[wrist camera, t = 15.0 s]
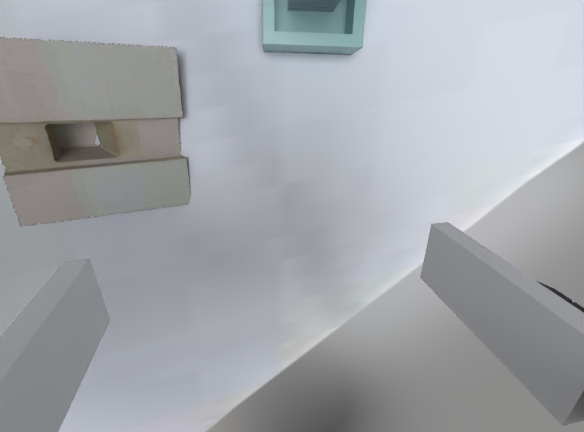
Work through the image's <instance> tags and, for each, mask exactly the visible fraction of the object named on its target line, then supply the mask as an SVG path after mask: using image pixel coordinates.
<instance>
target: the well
mask: <svg viewBox="0 0 584 432" xmlns="http://www.w3.org/2000/svg"><path fill="white" fill-rule="evenodd" d="M287 3H288V0H263V49H264V52H288V53H316V54H344V55H352V54H353V53H355V52H356V51H358V50H359V49H361V48H362V45H363V33H364V22H365V10H366V0H341V1H340V2H339V4H338V5H337V7H336V8H335V10H334V11H333V12H316V11H294V10H287Z"/></svg>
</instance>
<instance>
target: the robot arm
mask: <svg viewBox="0 0 584 432" xmlns="http://www.w3.org/2000/svg"><path fill="white" fill-rule="evenodd" d="M421 279H422V280H423V281H424V282H425V283H426V284H427V285H428V286H429V287H430V288H431V289H432V290H433V291H434V292H435V293H436V295H437V296H438V297H439V298H440V299H441V300H442V301H443V302H444V303H445V304H446V305H447V306H448V307H449V308H450V309H451V310H452V311H453V312H454V313H455V314H456V315H457V316H458V317H459V318H460V320H461V321H462V322H463V323H464V324H465V325H466V326H467V327H468V328H469V329H470V330H471V331H472V332H473V333H474V334H475V335H476V336H477V337H478V338H479V339H480V340H481V341H482V342H483V344H485V346H486V347H487V348H488V349H489V350H490V351H491V352H492V353H493V354H494V355H495V356H496V357H497V358H498V359H499V360H500V361H501V362H502V363H503V364H504V365H505V366H506V367H507V369H508V370H510V372H511V373H512V374H513V375H514V376H515V377H516V378H517V379H518V380H519V381H520V382H521V383H522V384H523V385H524V386H525V387H526V388H527V389H528V390H529V391H530V392H531V393H532V395H533V396H534V397H535V398H536V399H537V400H538V401H539V402H540V403H541V404H542V405H543V406H544V407H545V408H546V409H547V410H548V411H549V412H550V413H551V414H552V415H553V416H554V418H555V419H557V421H558V422H559V423H561V425H562V426H563V425H568V424H572V423H575V422H580V421H584V308H583V307H581V306H580V305H578V304H577V303H575V302H574V303H573V302H572V300H571V299H569V298H567V297H566V296H565V295H563V294H562V293H560V292H558V291H557V290H555V289H553V288H551V287H549V286H547V285H544V284H542V283H540V282H538V281H535V280H533V279H532V278H531V277H529V276H528V275H526V274H525V273H523V272H522V271H520V270H519V269H517V268H516V267H514V266H513V265H511V264H510V263H508V262H507V261H505V260H504V259H502V258H501V257H499V256H498V255H496V254H495V253H493V252H492V251H490V250H489V249H487V248H486V247H484V246H483V245H481V244H480V243H478V242H477V241H475V240H474V239H472V238H471V237H469V236H468V235H466V234H465V233H463V232H462V231H460V230H459V229H457V228H456V227H454V226H453V225H451V224H450V223H448V222H446V223H436V224H431V229H430V234H429V239H428V244H427V248H426V253H425V258H424V263H423V268H422V273H421ZM109 321H110V318H109V315H108V312H107V309H106V306H105V303H104V300H103V297H102V295H101V292H100V289H99V286H98V283H97V280H96V277H95V274H94V271H93V268H92V265H91V262H90V259H86V260H77V261H67V262H64V263H63V265H62V266H61V267H60V268H59V269H58V270H57V272H56V273H55V274H54V275H53V276H52V278H51V279H50V280H49V281H48V282H47V283H46V285H45V286H44V287H43V288H42V289H41V290H40V292H39V293H38V294H37V295H36V296H35V298H34V299H33V300H32V301H31V302H30V303H29V305H28V306H27V307H26V308H25V309H24V310H23V312H22V313H21V314H20V315H19V316H18V318H17V319H16V320H15V321H14V322H13V323H12V325H11V326H10V327H9V328H8V329H7V330H6V332H5V333H4V334H3V335H2V336H1V338H0V432H58V431H59V429H60V427H61V424H62V422H63V420H64V418H65V416H66V414H67V412H68V409H69V407H70V405H71V403H72V401H73V399H74V397H75V394H76V392H77V390H78V388H79V386H80V384H81V381H82V379H83V377H84V375H85V373H86V371H87V369H88V366H89V364H90V362H91V360H92V358H93V356H94V354H95V351H96V349H97V347H98V345H99V343H100V341H101V338H102V336H103V334H104V332H105V330H106V328H107V326H108V323H109Z"/></svg>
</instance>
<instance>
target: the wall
mask: <svg viewBox="0 0 584 432" xmlns="http://www.w3.org/2000/svg"><path fill="white" fill-rule="evenodd" d="M169 48H170V49H168V48H167V46H166V47H163V46H148V47H147V46H146V45H145V47H144V46H142V45H139V46H138V45H136V47H135V45H128V46H127V44H126V45H124V44H122V45H120V44H118V45H117V44H114V43H112V44H110V43H109V44H104V43H103V44H102V43H95V42H93V43H90V42H77V41H76V42H71V41H70V42H68V41H63V40H59V41H54V40H53V41H51V40H48V41H44V40H40V39H22V38H20V39H19V38H18V39H17V38H12V39H11V38H9V39H8V38H5V37H0V156H2V157H1V160H2V162H3V163H2V164H3V165H4V166H5V167H6V171H5V172H6V173H4V174H5V175H4V176H3V178H4V181H5V182H6V183H5V184H6V185H7V186H6V187H7V190H8V192H9V194H10V195H11V196H10V198H11V201H12V203H14V204H12V205H13V208H15V210H16V211H15V213H16V215H17V216H18V219H19V220H18V221H19V225H20V227H22V226H29V225H35V224H38V223H40V224H43V223H45V224H47V223H50V222H51V223H53V222H54V223H55V222H57V221H58V222H59V221H60V222H62V221H64V220H68V221H69V220H75V219H79V218H80V219H82V218H90V217H91V216H94V217H97V216H104V215H110V214H116V213H125V212H126V213H127V212H133V211H141V210H142V211H143V210H145V209H147V210H148V209H150V210H151V209H156V208H161V207H165V208H166V207H169V206H177V205H187V204H189V200H190V197H191V196H190V194H191V193H190V190H189V189H190V185H189V184H190V183H189V181H188V180H189V175H187V174H188V169H187V167H188V165H187V159H186V158H184V157H183V156H181V154H180V151H181V146H180V143H181V142H179V141H180V139H179V138H180V137H179V134H180V133H179V132H178V129H179V127H178V126H179V125H178V124H179V122H178V121H179V120H178V118H183V115H182V114H183V111H182V103H181V97H180V96H181V92H180V84H179V83H178V82H179V77H178V75H179V73H178V63H177V61H178V60H177V54H176V51H177V50H176V47H175V48H174V47H169ZM96 135H98V138H99V141H100V145H99V146H98V145H96V144H95V139H96Z"/></svg>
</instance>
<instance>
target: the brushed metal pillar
mask: <svg viewBox="0 0 584 432" xmlns="http://www.w3.org/2000/svg"><path fill="white" fill-rule="evenodd" d="M340 1H341V0H288V3H287V10H294V11H316V12H333V11H334V10H335V8H336V7H337V5H338V4H339V2H340Z"/></svg>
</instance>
